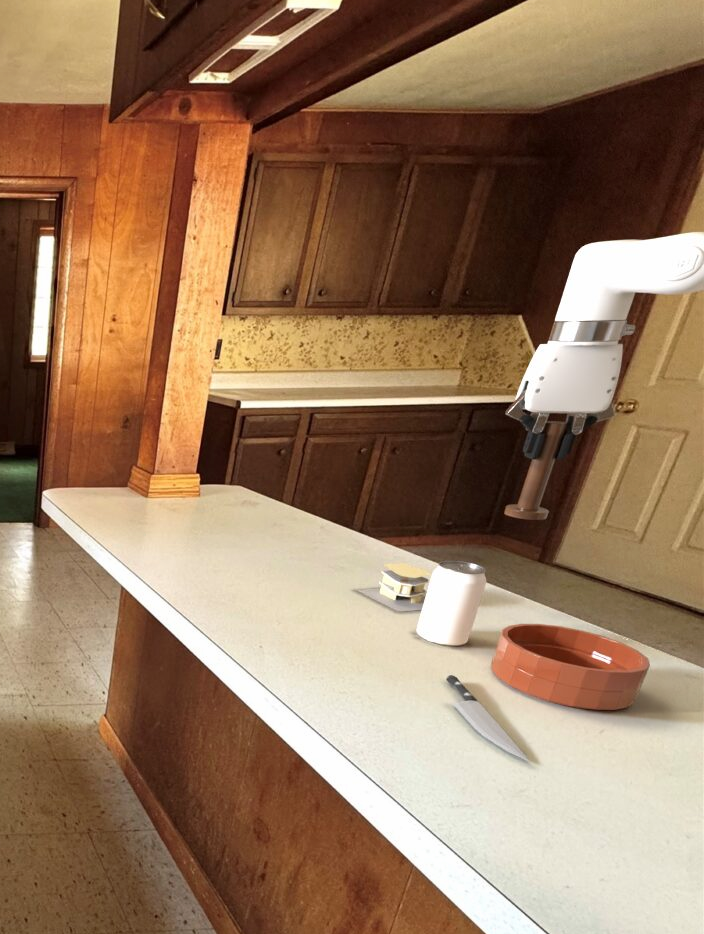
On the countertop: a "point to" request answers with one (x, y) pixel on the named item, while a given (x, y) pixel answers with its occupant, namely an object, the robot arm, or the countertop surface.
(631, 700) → the bowl
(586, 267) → the robot arm
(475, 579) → the can
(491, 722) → the chef's knife
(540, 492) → the brown post with base
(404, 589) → the stacked layers on plate
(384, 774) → the countertop surface
